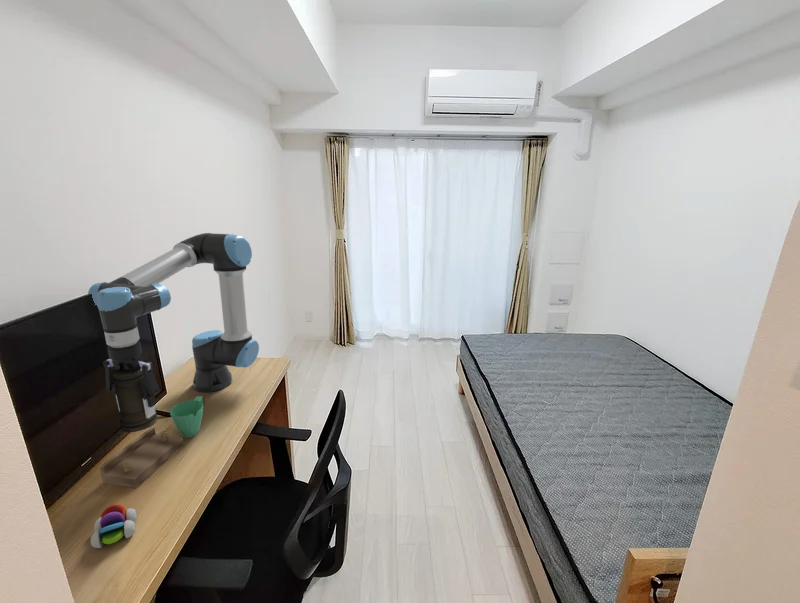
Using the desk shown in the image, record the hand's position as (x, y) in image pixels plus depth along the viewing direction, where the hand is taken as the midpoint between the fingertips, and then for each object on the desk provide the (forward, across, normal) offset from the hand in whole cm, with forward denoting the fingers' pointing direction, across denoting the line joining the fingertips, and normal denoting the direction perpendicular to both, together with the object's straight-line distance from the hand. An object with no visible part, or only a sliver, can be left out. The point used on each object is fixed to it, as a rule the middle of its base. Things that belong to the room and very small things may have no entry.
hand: (137, 413), depth 112 cm
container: (+3, 0, 0) cm, 3 cm away
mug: (+18, +2, +18) cm, 25 cm away
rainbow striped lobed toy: (+18, +12, -23) cm, 31 cm away
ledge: (+18, -1, 0) cm, 18 cm away
